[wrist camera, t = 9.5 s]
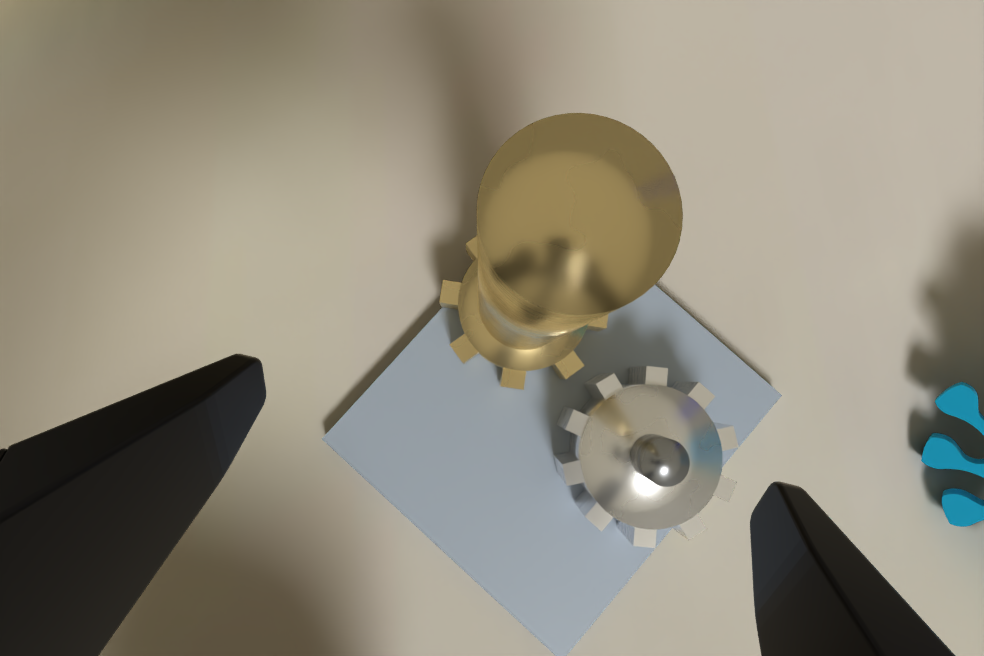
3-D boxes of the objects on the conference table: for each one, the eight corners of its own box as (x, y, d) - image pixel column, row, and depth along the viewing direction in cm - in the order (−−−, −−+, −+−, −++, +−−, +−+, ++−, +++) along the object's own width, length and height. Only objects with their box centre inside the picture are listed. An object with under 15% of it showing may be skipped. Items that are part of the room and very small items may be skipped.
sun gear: (640, 562, 21) (677, 604, 17) (521, 454, 22) (530, 471, 18) (741, 440, 22) (799, 453, 18) (624, 336, 22) (655, 327, 18)
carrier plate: (559, 653, 22) (562, 662, 21) (325, 437, 22) (321, 439, 22) (773, 394, 23) (783, 395, 22) (546, 196, 23) (548, 190, 23)
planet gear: (504, 420, 22) (541, 483, 9) (411, 291, 22) (314, 170, 9) (632, 326, 22) (843, 253, 9) (537, 201, 23) (614, -35, 10)
